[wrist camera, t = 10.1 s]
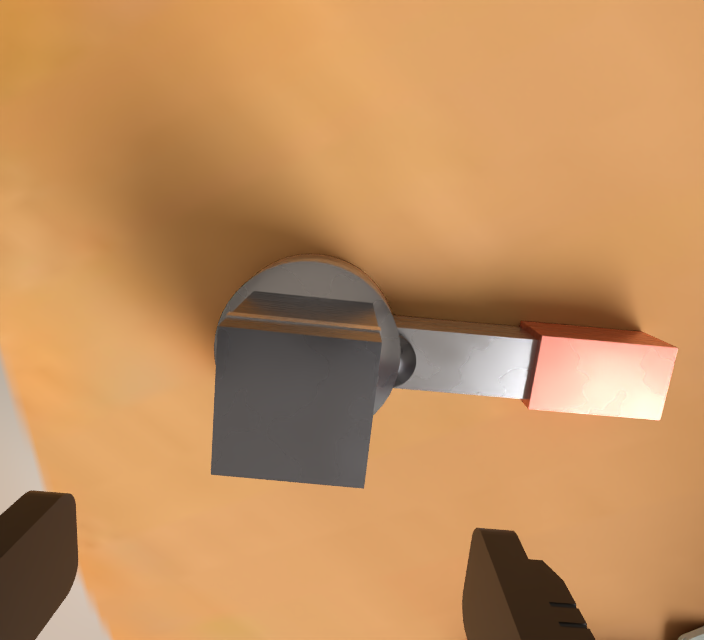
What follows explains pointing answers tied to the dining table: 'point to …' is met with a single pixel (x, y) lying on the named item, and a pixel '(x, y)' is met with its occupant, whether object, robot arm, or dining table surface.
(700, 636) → the metal bracket
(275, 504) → the dining table surface
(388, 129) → the dining table surface
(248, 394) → the grey block
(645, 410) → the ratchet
